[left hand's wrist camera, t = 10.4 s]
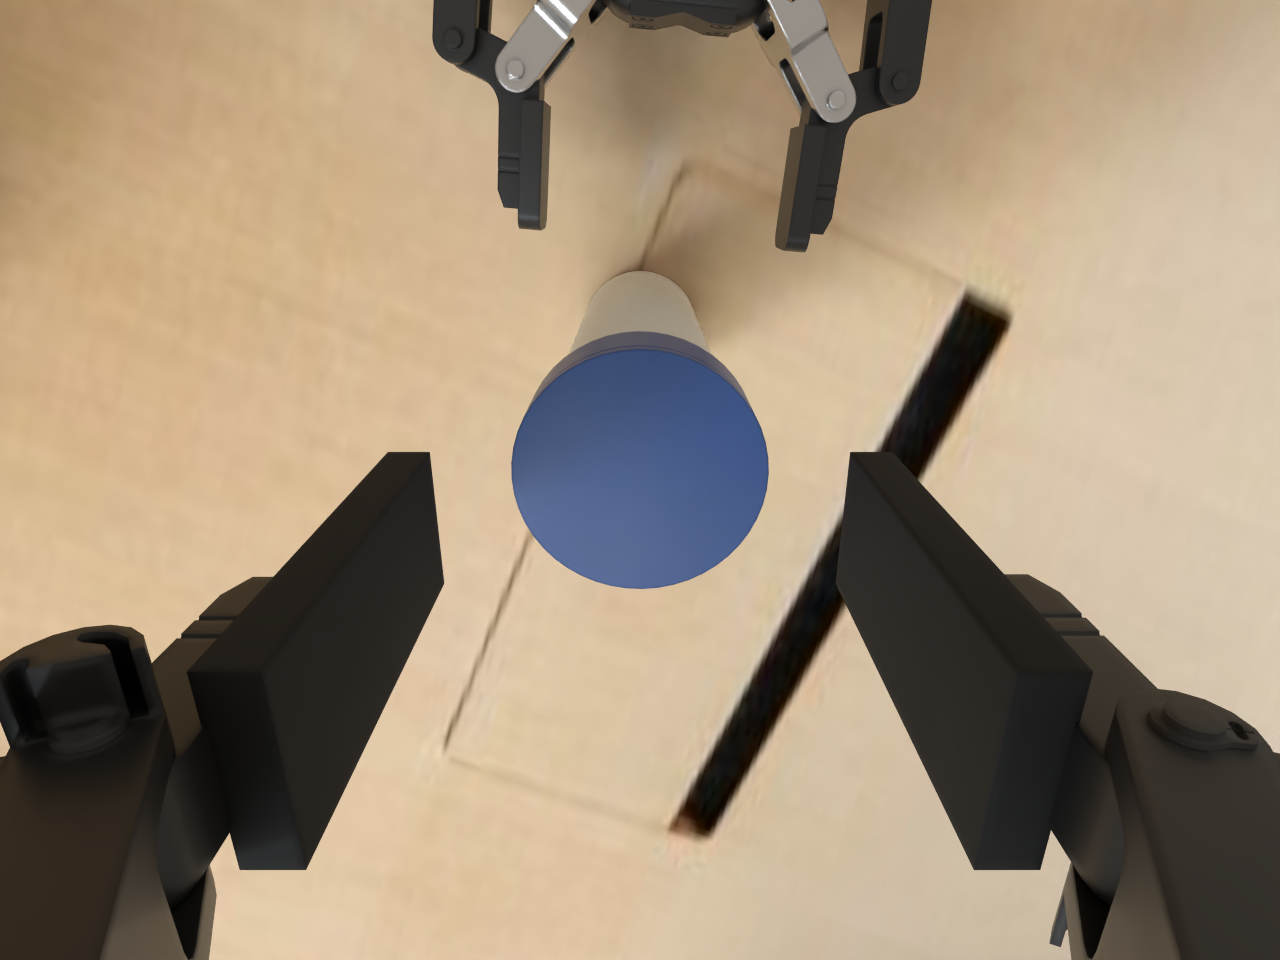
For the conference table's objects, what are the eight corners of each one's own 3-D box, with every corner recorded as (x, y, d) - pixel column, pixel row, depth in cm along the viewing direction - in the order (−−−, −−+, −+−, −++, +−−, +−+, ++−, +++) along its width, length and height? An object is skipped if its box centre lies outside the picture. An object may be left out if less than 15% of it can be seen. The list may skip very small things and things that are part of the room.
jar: (617, 249, 31) (594, 321, 15) (716, 306, 32) (789, 429, 16) (565, 349, 32) (496, 508, 17) (660, 401, 33) (679, 597, 18)
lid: (590, 285, 17) (584, 299, 15) (800, 402, 18) (819, 429, 16) (486, 488, 18) (469, 522, 17) (682, 584, 19) (686, 626, 18)
